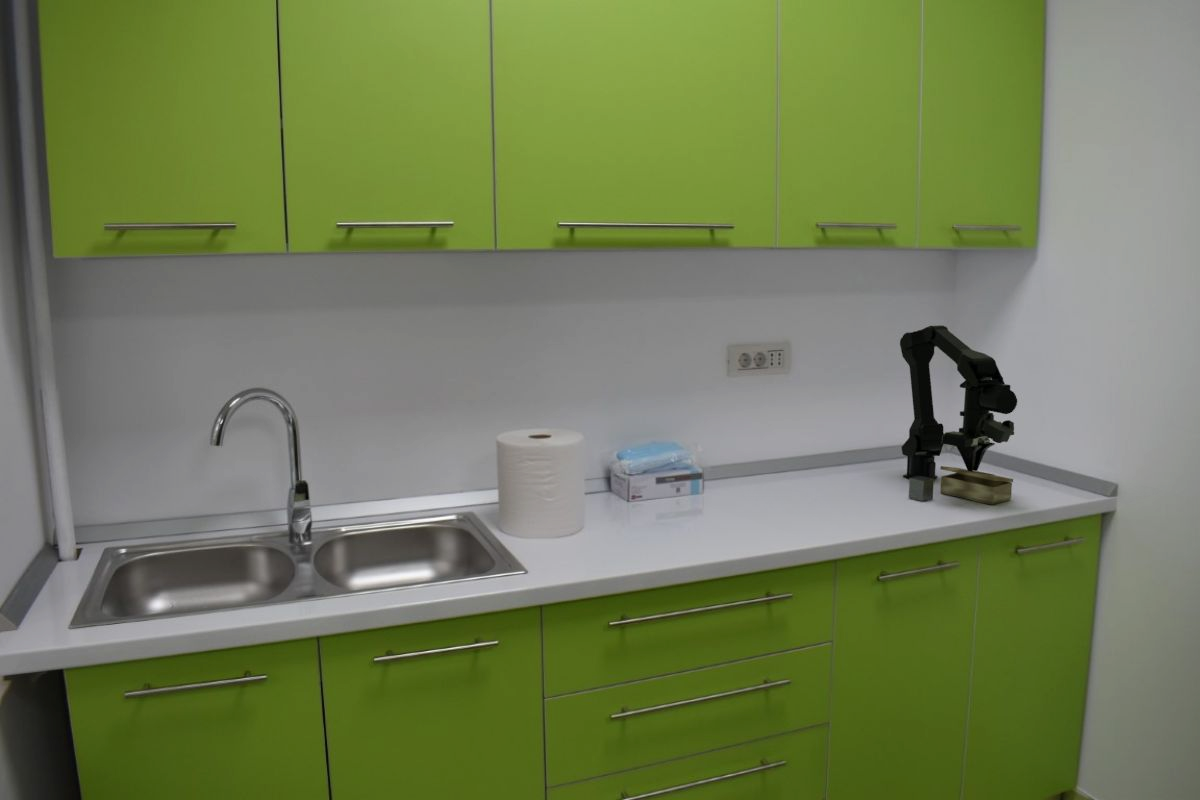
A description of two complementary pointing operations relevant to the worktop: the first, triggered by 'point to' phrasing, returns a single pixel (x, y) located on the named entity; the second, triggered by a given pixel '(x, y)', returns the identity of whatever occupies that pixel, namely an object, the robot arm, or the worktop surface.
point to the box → (976, 488)
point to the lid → (977, 474)
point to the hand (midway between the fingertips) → (972, 471)
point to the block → (921, 488)
